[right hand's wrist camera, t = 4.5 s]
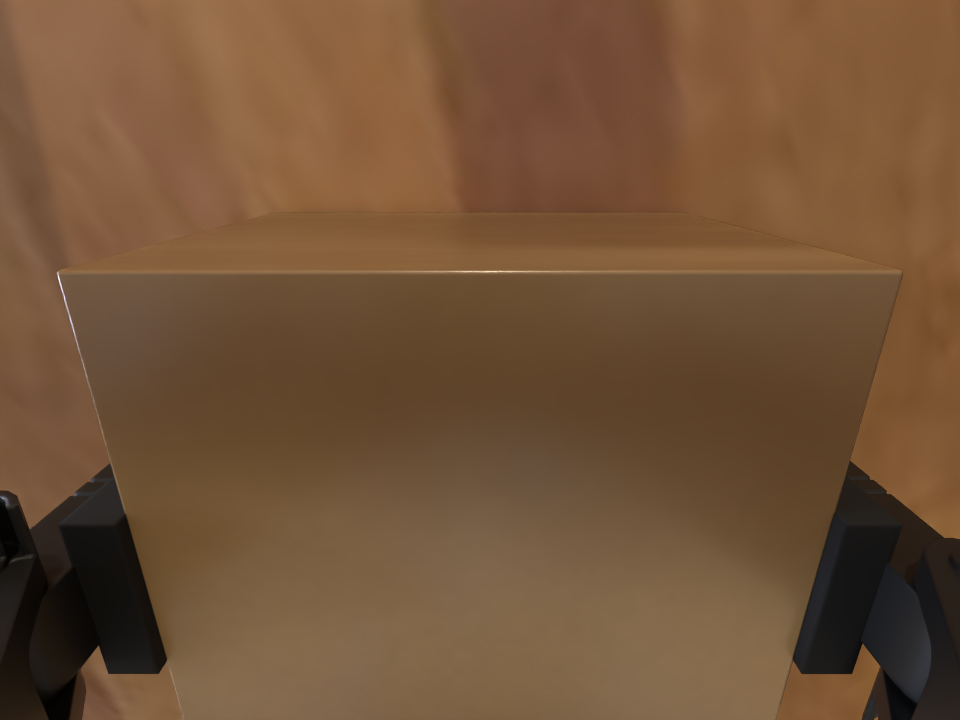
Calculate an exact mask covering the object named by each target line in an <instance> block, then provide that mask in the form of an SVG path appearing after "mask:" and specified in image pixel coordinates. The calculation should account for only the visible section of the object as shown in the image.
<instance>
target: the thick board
mask: <svg viewBox="0 0 960 720" xmlns="http://www.w3.org/2000/svg"><path fill="white" fill-rule="evenodd" d="M902 276H903V273H902V271H901V270H898V269H895V268H891V267H888V266H884V265H880V264H876V263H873V262H869V261H865V260H861V259H858V258H854V257H850V256H846V255H842V254H839V253H835V252H831V251H827V250H824V249H820V248H816V247H812V246H809V245H805V244H801V243H797V242H794V241H790V240H786V239H782V238H779V237H775V236H771V235H767V234H764V233H760V232H756V231H752V230H749V229H745V228H741V227H737V226H734V225H730V224H726V223H722V222H719V221H715V220H711V219H707V218H703V217H700V216H696V215H692V214H688V213H271V214H267V215H264V216H260V217H256V218H252V219H249V220H245V221H241V222H237V223H234V224H230V225H226V226H222V227H219V228H215V229H211V230H207V231H204V232H200V233H196V234H192V235H189V236H185V237H181V238H177V239H174V240H170V241H166V242H162V243H159V244H155V245H151V246H147V247H144V248H140V249H136V250H132V251H129V252H125V253H121V254H117V255H114V256H110V257H106V258H102V259H99V260H95V261H91V262H87V263H84V264H80V265H76V266H72V267H69V268H65V269H61V270H59V271H58V272H57V277H58V281H59V284H60V288H61V291H62V295H63V298H64V302H65V305H66V309H67V312H68V316H69V319H70V323H71V326H72V330H73V333H74V337H75V340H76V344H77V347H78V351H79V354H80V358H81V361H82V365H83V368H84V372H85V375H86V379H87V382H88V386H89V389H90V393H91V396H92V400H93V403H94V407H95V411H96V414H97V418H98V421H99V425H100V428H101V432H102V435H103V439H104V442H105V446H106V449H107V453H108V456H109V460H110V463H111V467H112V470H113V474H114V477H115V481H116V484H117V488H118V491H119V495H120V498H121V502H122V505H123V509H124V512H125V514H126V516H127V520H128V523H129V527H130V530H131V534H132V537H133V541H134V544H135V548H136V551H137V555H138V558H139V562H140V565H141V569H142V573H143V576H144V580H145V583H146V587H147V590H148V594H149V597H150V601H151V604H152V608H153V611H154V615H155V618H156V622H157V625H158V629H159V632H160V636H161V639H162V643H163V646H164V650H165V653H166V657H167V663H168V667H169V670H170V674H171V677H172V681H173V684H174V688H175V691H176V695H177V698H178V702H179V705H180V709H181V712H182V716H183V719H184V720H776V718H777V715H778V711H779V708H780V704H781V701H782V697H783V694H784V690H785V686H786V683H787V679H788V676H789V672H790V669H791V665H792V662H793V656H794V653H795V649H796V646H797V642H798V639H799V635H800V632H801V628H802V625H803V621H804V618H805V614H806V611H807V607H808V604H809V600H810V597H811V593H812V590H813V586H814V583H815V579H816V575H817V572H818V568H819V565H820V561H821V558H822V554H823V551H824V547H825V544H826V540H827V537H828V533H829V530H830V526H831V523H832V519H833V516H834V513H835V511H836V507H837V504H838V500H839V497H840V493H841V490H842V486H843V483H844V479H845V476H846V472H847V469H848V465H849V462H850V458H851V455H852V451H853V448H854V444H855V441H856V437H857V434H858V430H859V427H860V423H861V420H862V416H863V413H864V409H865V406H866V402H867V399H868V395H869V392H870V388H871V385H872V381H873V378H874V374H875V371H876V367H877V364H878V360H879V357H880V353H881V350H882V346H883V342H884V339H885V335H886V332H887V328H888V325H889V321H890V318H891V314H892V311H893V307H894V304H895V300H896V297H897V293H898V290H899V286H900V283H901V279H902Z"/></svg>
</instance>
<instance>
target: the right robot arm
mask: <svg viewBox="0 0 960 720" xmlns="http://www.w3.org/2000/svg"><path fill="white" fill-rule="evenodd" d="M862 643H863V644H864V646H865V647H866V648H867V649H868V651H869V652H870V653H871V654H872V656H873V657H874V658H875V660H876V661H877V662H878V663H879V665H880V669H879V672H878V674H877V677H876V680H875V683H874V685H873V688H872V691H871V694H870V696H869V699H868V702H867V705H866V707H865V710H864V713H863V716H862V720H874V718H876V717H878V720H960V539H955V538H944V537H942V536H941V535H940V534H939V533H938V532H936V531H935V530H934V529H933V528H931V527H930V526H929V525H928V524H927V523H925V522H924V521H923V520H922V519H920V518H919V517H918V516H917V515H916V514H914V513H913V512H912V511H911V510H909V509H908V508H907V507H906V506H905V505H903V504H902V503H901V502H900V501H898V500H897V499H896V498H895V497H894V496H892V495H891V494H887V493H886V490H885V489H884V488H883V487H881V486H880V485H879V484H878V483H877V482H875V481H874V480H870V477H869V476H868V475H867V474H866V473H864V472H863V471H862V470H861V469H859V468H858V467H857V466H856V465H855V464H853V463H852V462H851V461H850V462H849V465H848V469H847V472H846V476H845V479H844V483H843V486H842V490H841V493H840V497H839V500H838V504H837V507H836V511H835V513H834V516H833V519H832V523H831V526H830V530H829V533H828V537H827V540H826V544H825V547H824V551H823V554H822V558H821V561H820V565H819V568H818V572H817V575H816V579H815V583H814V586H813V590H812V593H811V597H810V600H809V604H808V607H807V611H806V614H805V618H804V621H803V625H802V628H801V632H800V635H799V639H798V642H797V646H796V649H795V653H794V656H793V661H794V662H795V664H796V665H797V667H798V669H799V670H800V672H801V673H802V674H852V672H853V669H854V667H855V664H856V661H857V658H858V655H859V652H860V649H861V646H862ZM98 645H99V647H100V650H101V653H102V656H103V659H104V662H105V665H106V668H107V671H108V674H159V673H160V671H161V669H162V668H163V666H164V665H165V663H166V661H167V657H166V653H165V650H164V646H163V643H162V639H161V636H160V632H159V629H158V625H157V622H156V618H155V615H154V611H153V608H152V604H151V601H150V597H149V594H148V590H147V587H146V583H145V580H144V576H143V573H142V569H141V565H140V562H139V558H138V555H137V551H136V548H135V544H134V541H133V537H132V534H131V530H130V527H129V523H128V520H127V516H126V514H125V512H124V509H123V505H122V502H121V498H120V495H119V491H118V488H117V484H116V481H115V477H114V474H113V470H112V467H111V463H110V464H109V465H108V466H106V467H105V468H104V469H103V470H101V471H100V472H99V473H98V474H97V475H95V476H94V477H93V478H92V481H91V482H87V483H86V484H85V485H83V486H82V487H81V488H80V489H78V490H77V491H76V492H75V495H74V496H70V497H69V498H68V499H66V500H65V501H64V502H63V503H62V504H60V505H59V506H58V507H57V508H55V509H54V510H53V511H52V512H51V513H49V514H48V515H47V516H46V517H45V518H43V519H42V520H41V521H40V522H39V523H37V524H36V525H35V526H34V527H32V528H31V529H30V530H29V527H28V524H27V521H26V519H25V516H24V513H23V511H22V508H21V505H20V502H19V500H18V497H17V496H16V495H14V494H12V493H11V492H9V491H0V720H82V716H83V709H84V702H85V696H86V687H85V681H84V677H83V674H82V672H81V669H80V668H81V667H82V666H83V664H84V663H85V662H86V661H87V659H88V658H89V657H90V656H91V654H92V653H93V652H94V650H95V649H96V648H97V647H98Z"/></svg>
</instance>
